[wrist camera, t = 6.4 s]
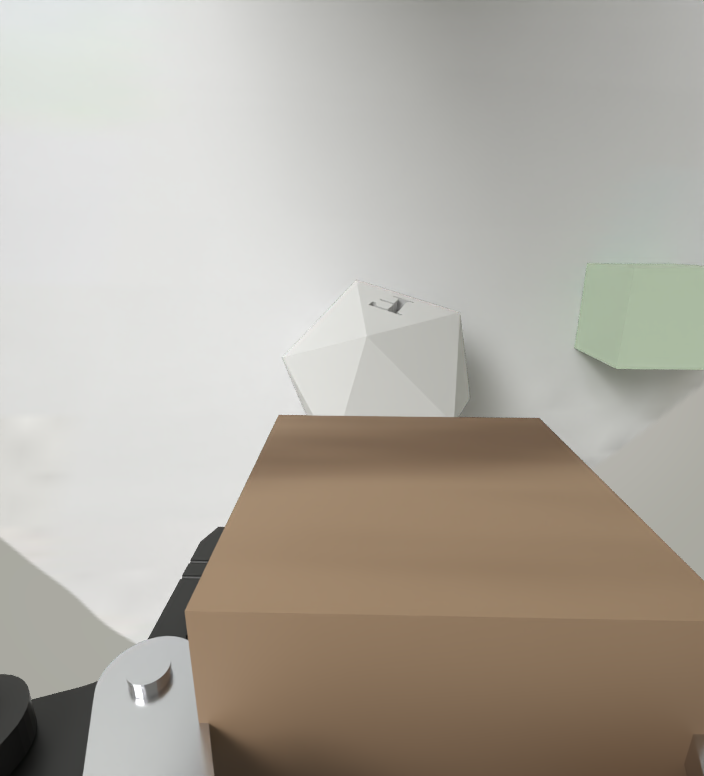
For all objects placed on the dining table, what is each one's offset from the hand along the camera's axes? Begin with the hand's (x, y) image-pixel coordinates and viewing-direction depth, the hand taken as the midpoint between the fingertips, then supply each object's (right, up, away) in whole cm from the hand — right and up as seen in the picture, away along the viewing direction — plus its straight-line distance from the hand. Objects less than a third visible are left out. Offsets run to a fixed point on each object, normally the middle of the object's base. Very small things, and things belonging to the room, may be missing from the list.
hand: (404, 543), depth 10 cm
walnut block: (0, 0, +1) cm, 1 cm away
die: (0, +5, +16) cm, 17 cm away
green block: (+13, +8, +15) cm, 21 cm away
